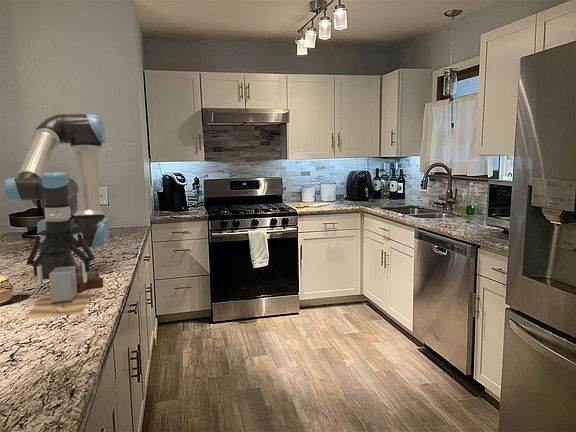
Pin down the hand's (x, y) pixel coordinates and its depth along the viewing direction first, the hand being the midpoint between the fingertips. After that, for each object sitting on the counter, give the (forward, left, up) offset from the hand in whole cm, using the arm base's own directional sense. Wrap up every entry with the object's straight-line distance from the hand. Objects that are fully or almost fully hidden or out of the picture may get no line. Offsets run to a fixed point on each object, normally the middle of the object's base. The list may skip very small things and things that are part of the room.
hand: (63, 283), depth 151 cm
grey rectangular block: (0, 0, -6) cm, 6 cm away
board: (+5, 0, -6) cm, 8 cm away
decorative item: (-15, +3, -7) cm, 17 cm away
